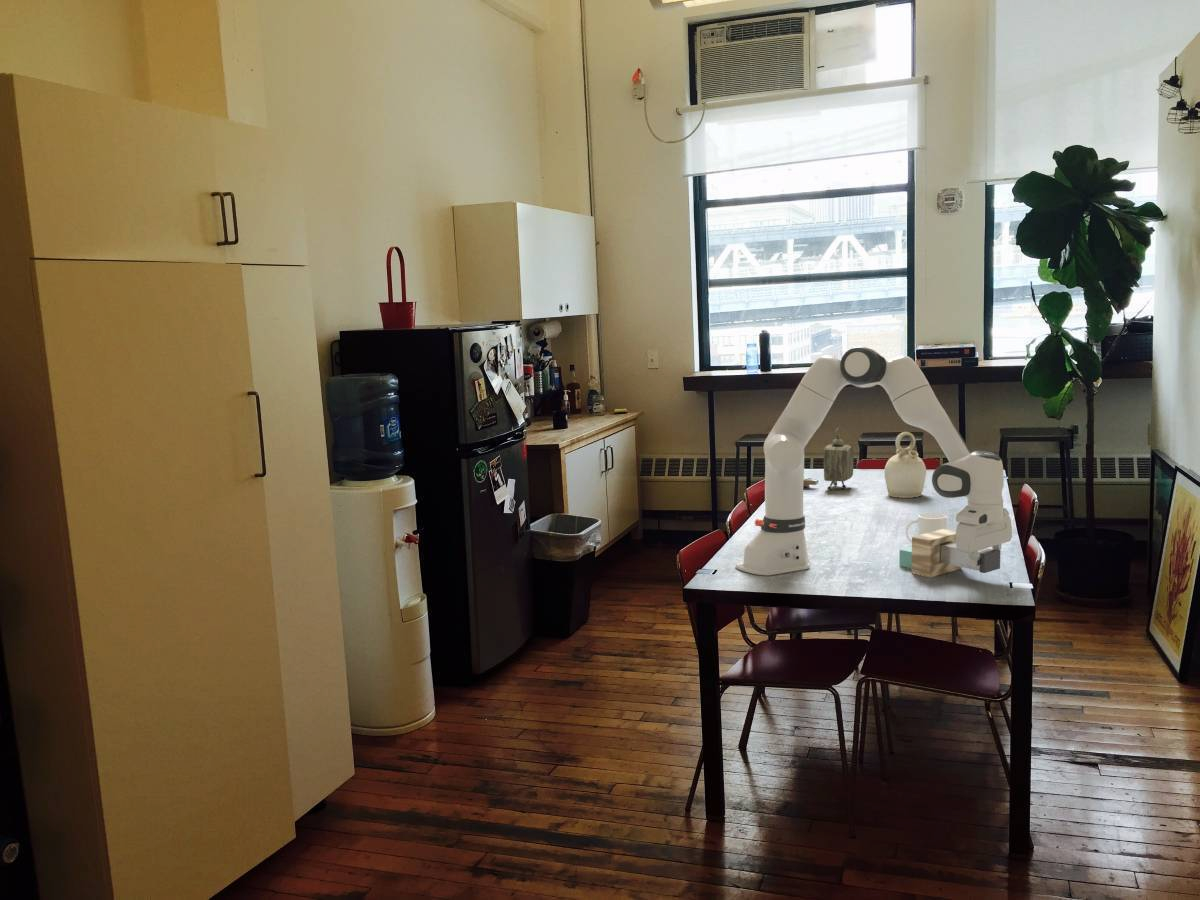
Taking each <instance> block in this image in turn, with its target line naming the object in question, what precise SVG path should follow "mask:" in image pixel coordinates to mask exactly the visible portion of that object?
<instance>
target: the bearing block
mask: <svg viewBox="0 0 1200 900" xmlns="http://www.w3.org/2000/svg"><path fill="white" fill-rule="evenodd" d="M911 540H912V543H911V546H912V569H911V574H912V573H913V575H916V574H917V575H916V576H920V575H921V576H920V577H924V576H925V577H924V578H928V579H930V578H931V579H932V578H935V577H938V576H940V575H944V574H947V572H948V573H950V572H954V571H957V570H961V569H962V567H959V566H954V565H950V564H945V563H940V544H941V543H945V542H949V541H950V542H955V543H956V530H951V529H948V528H947V529H941V530H937V531H933V532H929V533H925V534H921V535H918V534H917V535H914V536H911ZM937 575H938V576H937Z"/></svg>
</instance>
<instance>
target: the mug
mask: <svg viewBox="0 0 1200 900" xmlns="http://www.w3.org/2000/svg"><path fill="white" fill-rule="evenodd" d="M914 524H917V526H918V527H917V535H921V534H925V533H929V532H933V531H937V530H941V529H947V530H948V516H947V515H946V514H942V513H935V512H927V513H925V512H924V513H920V514H918V515H917V519H914V520H912V521H910V522H909V523H908V524H907V526H906V529H905V535H906V538H907V540H908V541H909V543H911V544H912V538H911V537H909V533H908V530H909V528H910V527H911V526H912V525H914Z"/></svg>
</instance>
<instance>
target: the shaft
mask: <svg viewBox="0 0 1200 900" xmlns="http://www.w3.org/2000/svg"><path fill="white" fill-rule="evenodd" d="M976 556H977V559H979V560H980V562H979V564H980V565H979V566H976V567H973V566H971V565H970V558H969V556H968V553H965V552H960V551H958V549H957V547H956V543H955V542H950V541H949V542H945V543H941V544H940V563H945V564H950V565H954V566H959V567H961V568H965V569H969V570H973V571H978V572H979V573H980V574H981V573H982V574H986V573H990V572H993V571H996V570H999V569H1001V550H997V549H994V550H992V548H985V549H981V550H978V554H976Z"/></svg>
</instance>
